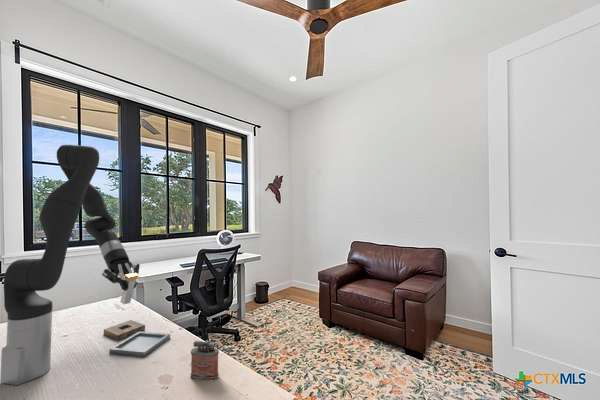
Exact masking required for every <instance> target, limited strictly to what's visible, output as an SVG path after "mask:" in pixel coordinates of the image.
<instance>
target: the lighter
mask: <svg viewBox="0 0 600 400" xmlns="http://www.w3.org/2000/svg"><path fill="white" fill-rule="evenodd" d="M193 347H194V348H192V349H191V350H190V355H191V359H190V360H191V363H190V364H191V366H190V368H191V369H190V371H191V373H190V379H191V380H194V381H200V380H201V381H202V382H203V381H204V382H208V381H207V380H213V381H216V380H218V379H219V377H218V376H219V353H220V350H219V348H215V347H216V344H215V341H210V340H209V339H206V340H205V341H203V340H195V341H194V342H193ZM217 378H218V379H217ZM215 379H216V380H215ZM201 381H200V382H201Z"/></svg>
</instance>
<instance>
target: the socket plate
mask: <svg viewBox="0 0 600 400" xmlns="http://www.w3.org/2000/svg"><path fill="white" fill-rule="evenodd" d="M145 330H146V324H143V323H141V322H137V321H135V320H133V319H129V320H127V321H124V322H121V323H118V324H116V325H112V326H110V327H106V328H104V329H103V336H106V337H108V338H111V339H113V340H115V341H121V340H125V339H127V338H129V337H131V336H132V335H134V334H136V333H137V332H145Z"/></svg>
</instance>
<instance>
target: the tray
mask: <svg viewBox="0 0 600 400" xmlns="http://www.w3.org/2000/svg"><path fill="white" fill-rule="evenodd" d="M170 339H171V334H170V333H163V332H162V333H161V332H148V331H141V332H137V333H136V334H134V335H131V336H129V337H126V338H125V339H123V340H122V341H121V342H119V343H117V344H115V345H114V346H112V347H111V348H109V355H120V356H130V357H139V358H140V357H141V358H145V357H147V356H148V355H149V354H150V353H152V352H153V351H154V350H157V349H158V348H159V347H160V346H161V345H163V344H165V342H167V341H168V340H170ZM166 340H167V341H166Z"/></svg>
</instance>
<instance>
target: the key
mask: <svg viewBox="0 0 600 400" xmlns="http://www.w3.org/2000/svg"><path fill="white" fill-rule="evenodd" d="M132 273H133V272H132ZM139 276H140V275H139V274H137V273H133V274H128V275H125V276H124V280H126V283H127V285H128V287H129V288H128V289H127V291H124V290H123V291H122V294H121V297H120V303H121V304H123V305H127V304H131V301H132V298H133V293H134V285H135V282H136V283H137V280H138V279H139Z"/></svg>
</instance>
